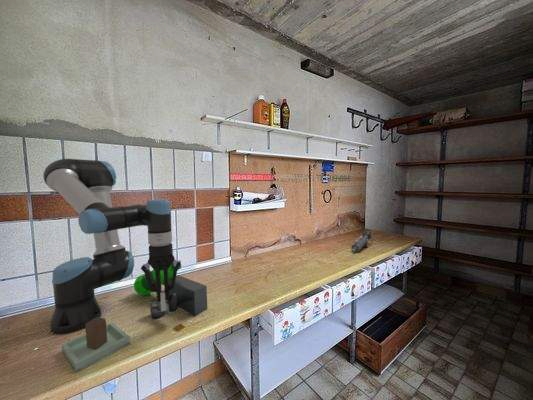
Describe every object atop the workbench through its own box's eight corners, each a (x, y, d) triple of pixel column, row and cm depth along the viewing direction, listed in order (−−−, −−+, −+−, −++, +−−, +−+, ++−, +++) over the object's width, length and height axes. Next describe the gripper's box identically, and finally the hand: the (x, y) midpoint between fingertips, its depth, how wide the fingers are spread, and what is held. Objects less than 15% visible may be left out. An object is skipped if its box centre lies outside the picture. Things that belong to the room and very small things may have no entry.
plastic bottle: (151, 283, 116) (188, 261, 110) (144, 302, 108) (183, 280, 102) (135, 273, 112) (172, 250, 105) (125, 292, 103) (165, 268, 97)
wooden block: (95, 350, 71) (93, 325, 71) (86, 347, 72) (84, 323, 72) (108, 341, 75) (106, 318, 75) (98, 339, 76) (97, 316, 76)
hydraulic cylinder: (373, 240, 189) (373, 229, 187) (358, 259, 162) (357, 246, 160) (364, 239, 194) (363, 228, 192) (347, 257, 167) (347, 244, 165)
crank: (147, 305, 90) (146, 287, 90) (160, 300, 94) (159, 282, 94) (169, 317, 82) (168, 297, 81) (181, 311, 86) (180, 292, 85)
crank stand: (143, 312, 93) (141, 288, 93) (179, 296, 107) (178, 275, 106) (175, 333, 80) (173, 305, 79) (212, 311, 93) (211, 287, 92)
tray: (62, 351, 72) (61, 344, 72) (112, 328, 83) (112, 322, 83) (76, 372, 64) (75, 364, 64) (130, 343, 75) (129, 336, 75)
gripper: (137, 248, 75) (141, 318, 76) (179, 244, 78) (182, 311, 80) (142, 243, 82) (145, 307, 83) (180, 239, 86) (183, 301, 87)
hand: (163, 309), depth 82 cm, fingers closed
